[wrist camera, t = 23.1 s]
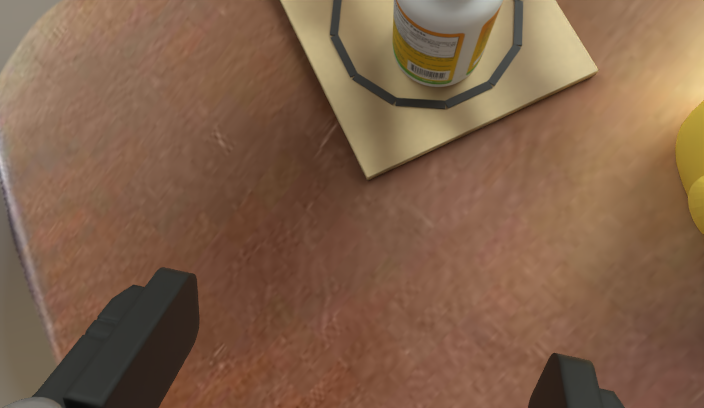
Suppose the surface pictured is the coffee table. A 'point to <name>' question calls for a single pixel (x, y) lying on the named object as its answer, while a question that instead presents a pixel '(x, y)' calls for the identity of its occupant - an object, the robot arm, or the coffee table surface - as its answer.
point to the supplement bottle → (441, 38)
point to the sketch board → (425, 101)
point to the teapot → (692, 162)
